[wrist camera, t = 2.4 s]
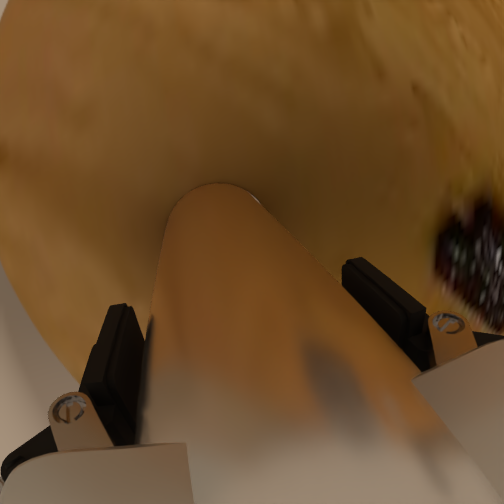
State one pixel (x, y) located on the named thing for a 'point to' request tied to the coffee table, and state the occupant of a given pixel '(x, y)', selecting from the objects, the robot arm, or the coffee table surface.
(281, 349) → the silver metal cylinder
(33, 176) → the coffee table surface
